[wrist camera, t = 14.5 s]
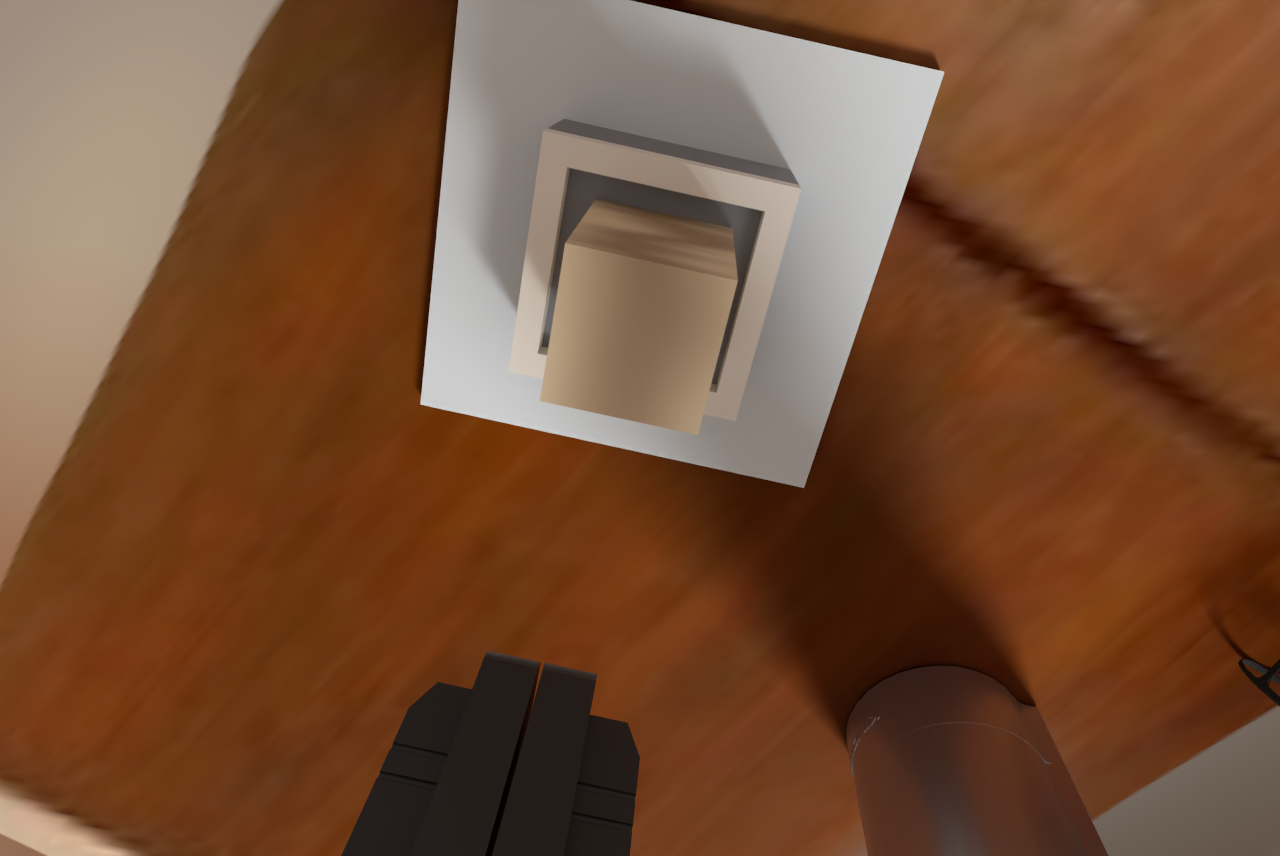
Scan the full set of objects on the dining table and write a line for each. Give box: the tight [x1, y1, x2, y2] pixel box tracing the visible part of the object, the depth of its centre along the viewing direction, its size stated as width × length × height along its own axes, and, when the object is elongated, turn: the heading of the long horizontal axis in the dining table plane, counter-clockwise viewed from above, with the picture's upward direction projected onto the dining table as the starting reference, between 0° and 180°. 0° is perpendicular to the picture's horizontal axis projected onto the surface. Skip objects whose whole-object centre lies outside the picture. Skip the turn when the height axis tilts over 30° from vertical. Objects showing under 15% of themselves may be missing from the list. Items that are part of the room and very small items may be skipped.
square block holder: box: [421, 0, 944, 488], centre depth 32 cm, size 18×18×5 cm
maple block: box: [540, 198, 738, 435], centre depth 28 cm, size 5×5×7 cm
